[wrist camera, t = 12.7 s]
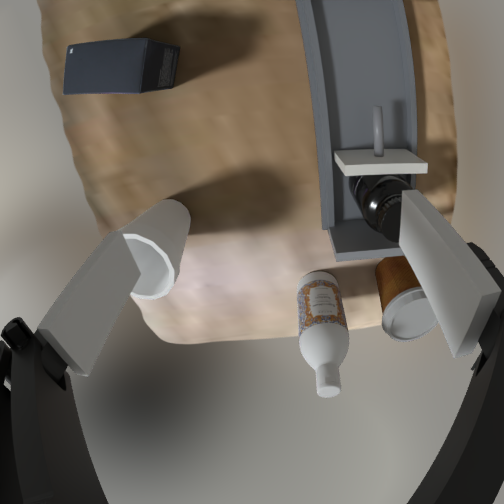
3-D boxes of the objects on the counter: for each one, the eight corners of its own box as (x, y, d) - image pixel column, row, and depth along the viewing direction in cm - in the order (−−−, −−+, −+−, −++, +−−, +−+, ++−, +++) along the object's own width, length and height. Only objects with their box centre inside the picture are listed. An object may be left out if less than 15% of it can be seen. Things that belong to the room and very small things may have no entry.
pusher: (329, 104, 31) (340, 109, 25) (404, 104, 29) (428, 111, 24) (334, 159, 35) (345, 176, 29) (405, 157, 33) (427, 173, 28)
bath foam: (340, 269, 45) (363, 375, 28) (335, 301, 49) (351, 403, 32) (297, 269, 46) (302, 378, 29) (295, 302, 50) (298, 405, 33)
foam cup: (137, 230, 44) (99, 280, 34) (150, 180, 40) (106, 221, 29) (190, 253, 46) (165, 309, 35) (209, 204, 41) (184, 254, 30)
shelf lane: (292, -12, 24) (296, -37, 16) (398, -7, 21) (426, -24, 14) (322, 227, 41) (330, 262, 34) (410, 220, 39) (433, 252, 32)
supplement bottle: (342, 162, 35) (367, 197, 25) (390, 153, 34) (430, 184, 24) (351, 209, 39) (374, 257, 29) (395, 199, 37) (431, 243, 27)
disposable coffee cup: (386, 236, 41) (413, 286, 31) (427, 257, 42) (456, 305, 32) (355, 282, 46) (370, 336, 36) (396, 297, 48) (416, 348, 38)
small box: (106, 88, 32) (59, 97, 23) (111, 46, 29) (65, 43, 20) (173, 91, 32) (138, 96, 24) (181, 45, 29) (147, 34, 20)
